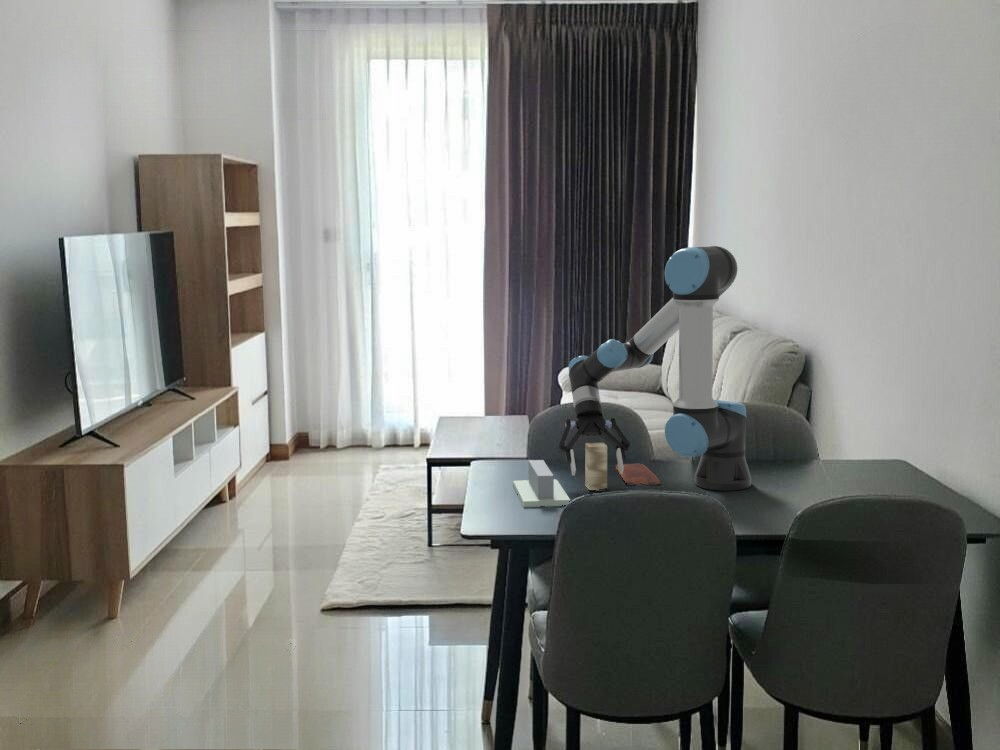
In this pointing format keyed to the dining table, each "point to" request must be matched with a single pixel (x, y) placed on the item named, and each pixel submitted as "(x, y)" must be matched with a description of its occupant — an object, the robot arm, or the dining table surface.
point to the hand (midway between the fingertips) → (597, 472)
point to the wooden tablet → (638, 475)
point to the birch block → (595, 466)
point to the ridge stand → (540, 487)
